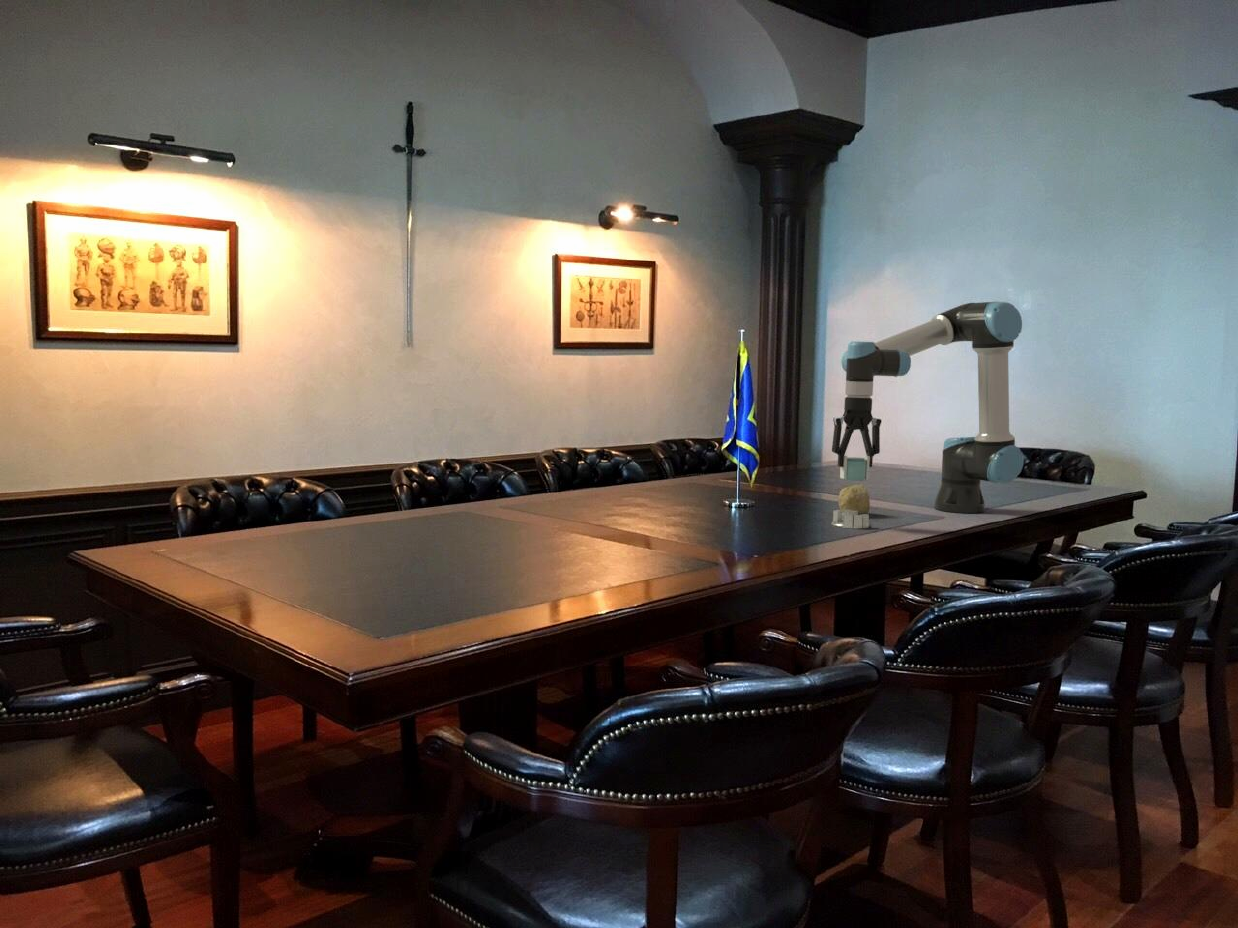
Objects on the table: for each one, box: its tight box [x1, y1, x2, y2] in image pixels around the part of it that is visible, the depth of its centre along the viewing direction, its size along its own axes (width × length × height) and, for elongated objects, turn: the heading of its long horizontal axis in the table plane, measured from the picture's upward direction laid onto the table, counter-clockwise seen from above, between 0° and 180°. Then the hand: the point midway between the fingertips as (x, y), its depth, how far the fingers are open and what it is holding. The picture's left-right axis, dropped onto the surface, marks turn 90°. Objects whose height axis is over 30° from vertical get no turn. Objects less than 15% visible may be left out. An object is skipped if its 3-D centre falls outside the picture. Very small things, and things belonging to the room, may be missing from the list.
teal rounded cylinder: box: [844, 456, 866, 482], centre depth 292 cm, size 6×6×6 cm
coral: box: [838, 483, 871, 515], centre depth 312 cm, size 10×10×10 cm
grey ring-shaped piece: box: [831, 509, 870, 530], centre depth 294 cm, size 10×10×4 cm
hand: (854, 478), depth 292 cm, fingers closed on teal rounded cylinder, 6 cm apart
